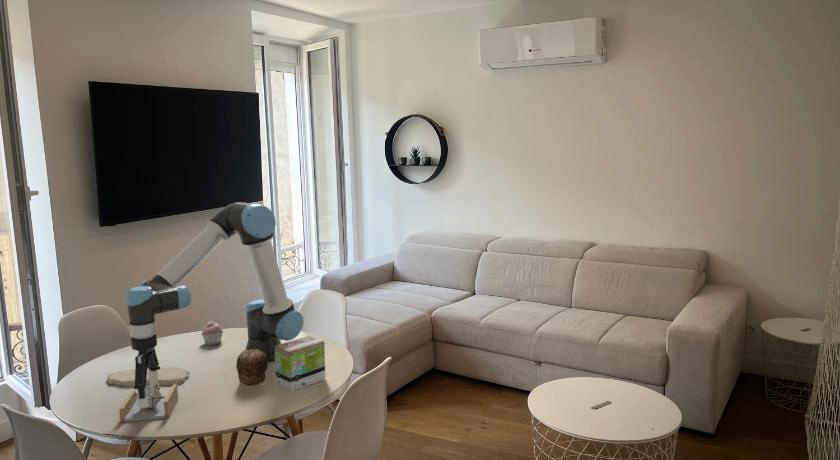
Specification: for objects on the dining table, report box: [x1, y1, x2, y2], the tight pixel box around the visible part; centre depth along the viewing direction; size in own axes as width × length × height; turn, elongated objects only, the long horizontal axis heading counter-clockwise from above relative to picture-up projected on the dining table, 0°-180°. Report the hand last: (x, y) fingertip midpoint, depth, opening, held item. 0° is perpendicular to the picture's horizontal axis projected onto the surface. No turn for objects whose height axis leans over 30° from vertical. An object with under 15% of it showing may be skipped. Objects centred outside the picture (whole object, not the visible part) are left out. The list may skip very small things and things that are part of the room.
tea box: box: [274, 335, 326, 393], centre depth 222 cm, size 15×10×15 cm
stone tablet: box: [107, 366, 191, 387], centre depth 231 cm, size 16×30×2 cm, turn 91°
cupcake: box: [200, 320, 225, 346], centre depth 267 cm, size 9×9×10 cm
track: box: [118, 384, 179, 423], centre depth 203 cm, size 14×14×6 cm
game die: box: [133, 384, 166, 411], centre depth 202 cm, size 9×8×10 cm
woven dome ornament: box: [235, 349, 269, 386], centre depth 224 cm, size 11×11×12 cm
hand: (149, 398), depth 202 cm, fingers open, 13 cm apart
